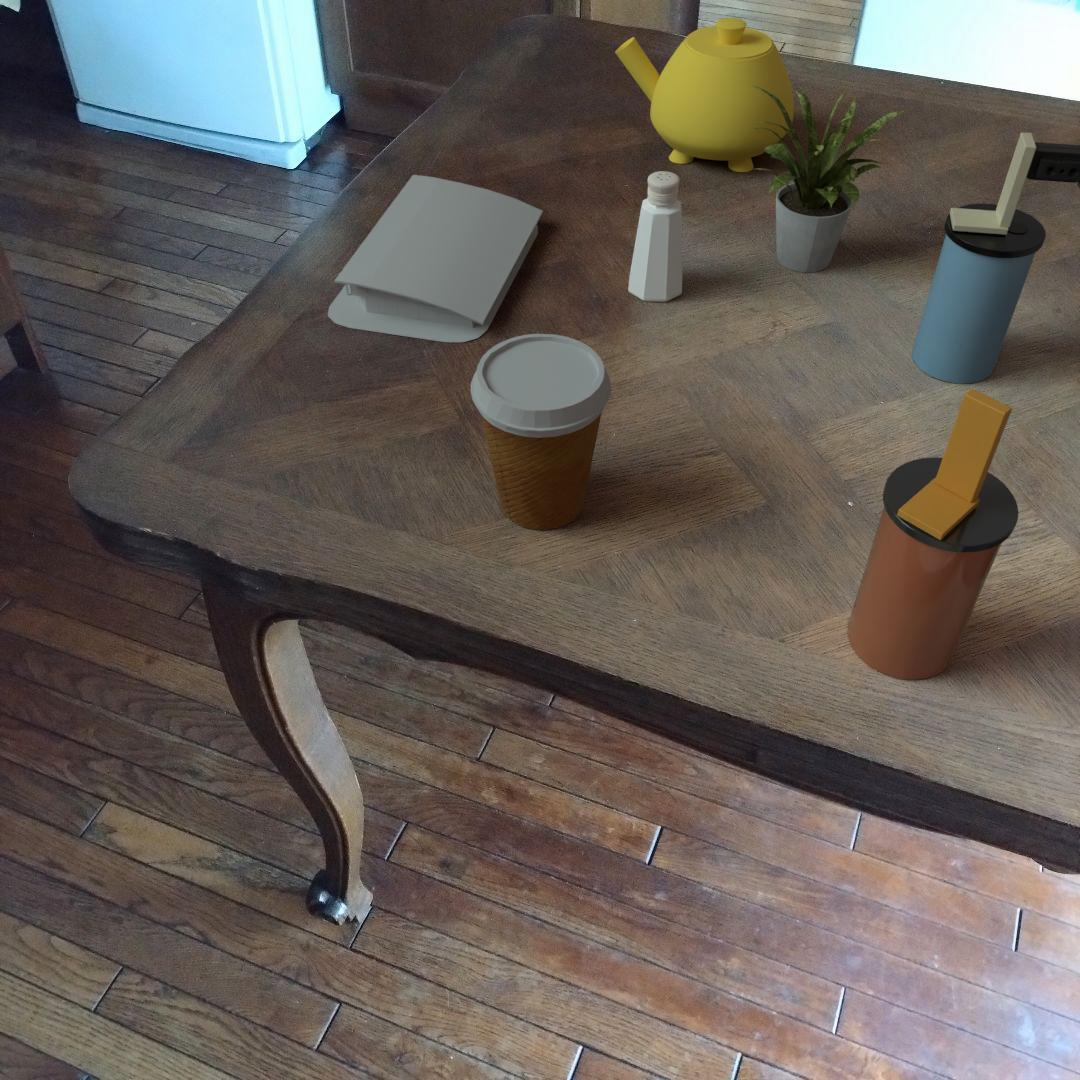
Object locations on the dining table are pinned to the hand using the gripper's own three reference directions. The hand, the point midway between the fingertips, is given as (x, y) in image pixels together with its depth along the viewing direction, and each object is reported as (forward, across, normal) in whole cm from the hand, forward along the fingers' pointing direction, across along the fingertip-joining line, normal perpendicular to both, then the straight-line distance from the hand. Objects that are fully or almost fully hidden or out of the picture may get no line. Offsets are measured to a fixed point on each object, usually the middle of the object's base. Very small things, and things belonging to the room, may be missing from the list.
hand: (1027, 160), depth 78 cm
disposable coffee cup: (+32, +23, +18) cm, 44 cm away
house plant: (+15, -15, +18) cm, 28 cm away
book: (+48, -7, +18) cm, 52 cm away
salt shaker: (+27, -7, +18) cm, 33 cm away
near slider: (+8, +34, +5) cm, 35 cm away
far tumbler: (+1, 0, +18) cm, 18 cm away
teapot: (+25, -37, +18) cm, 49 cm away
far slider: (+2, 0, +5) cm, 6 cm away
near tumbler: (+7, +32, +18) cm, 38 cm away
